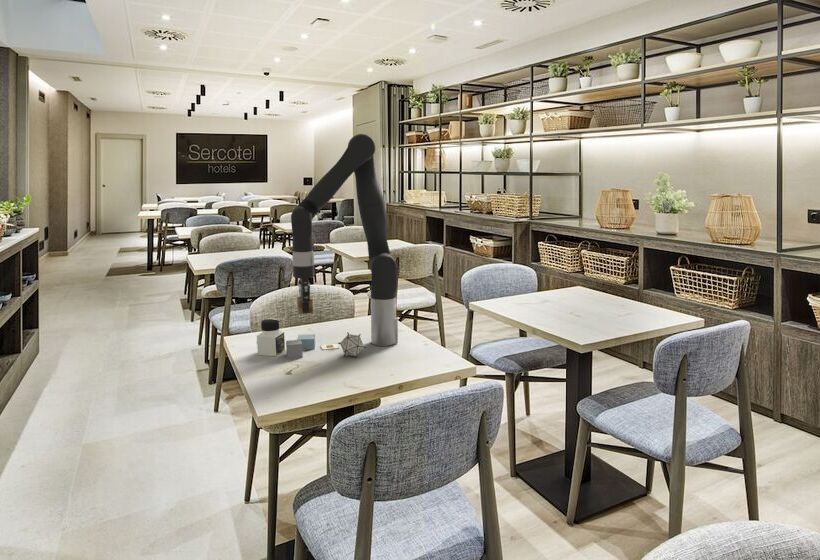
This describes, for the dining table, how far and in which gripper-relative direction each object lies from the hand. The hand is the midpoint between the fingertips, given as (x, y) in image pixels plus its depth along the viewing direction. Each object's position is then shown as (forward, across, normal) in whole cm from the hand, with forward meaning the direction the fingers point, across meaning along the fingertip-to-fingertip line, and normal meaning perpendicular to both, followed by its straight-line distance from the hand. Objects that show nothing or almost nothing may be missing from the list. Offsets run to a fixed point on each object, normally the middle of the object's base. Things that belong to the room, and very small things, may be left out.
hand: (305, 310), depth 202 cm
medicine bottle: (+14, -3, +12) cm, 19 cm away
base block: (+14, 0, 0) cm, 14 cm away
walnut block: (0, 0, 0) cm, 0 cm away
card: (+13, -3, -8) cm, 16 cm away
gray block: (+14, -9, +5) cm, 17 cm away
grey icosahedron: (+14, -15, -14) cm, 25 cm away
